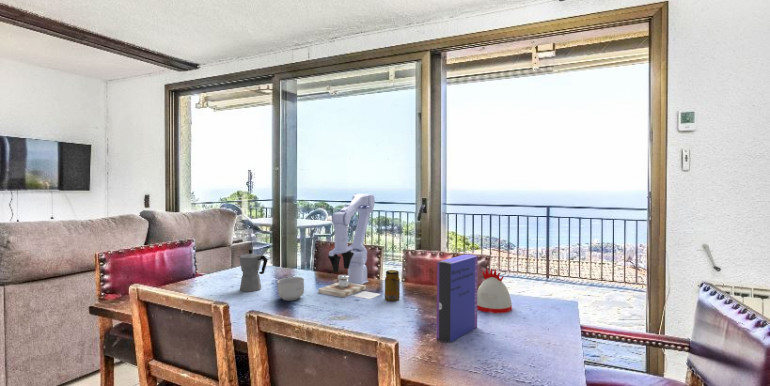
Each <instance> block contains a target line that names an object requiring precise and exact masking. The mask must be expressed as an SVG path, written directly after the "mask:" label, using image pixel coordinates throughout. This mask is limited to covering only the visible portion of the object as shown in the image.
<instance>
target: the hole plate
mask: <svg viewBox="0 0 770 386" xmlns="http://www.w3.org/2000/svg"><path fill="white" fill-rule="evenodd" d="M364 290H367V285H366V284H365V285H364V284H361V285H360V284H354V283H348V288H345V289H341V288H339V281H338V282H335V283H332V284H330V285H329V284H328V285H326V286H324V287H319V288H318V289H317V291H318V293H319V294H324V295H329V296H334V297H335V296H336V297H340V298H346V297H349V296H353V295H356V294H358V293H361V292H364Z"/></svg>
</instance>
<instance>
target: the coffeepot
mask: <svg viewBox="0 0 770 386" xmlns="http://www.w3.org/2000/svg"><path fill="white" fill-rule="evenodd" d="M237 258H239V263H240V269H241V272H242V275H241V281H240V286H239V291H240V292H244V293H251V292H253V293H254V292H258V291H260V290H261V289H262V284H261V279H260V277H261V276H260V275H264V274H265V271H266V268H267V263H268V258H267V257H266V255H261V254H257V253H253V249H248V253H245V254H241V255H240V254H239V255H238V256H237ZM261 261H263V263H262V267H261ZM260 267H261V271H259V270H260Z"/></svg>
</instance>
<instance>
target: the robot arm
mask: <svg viewBox="0 0 770 386" xmlns="http://www.w3.org/2000/svg"><path fill="white" fill-rule="evenodd" d="M375 203H376V201H375V196H374V194H373V193H354V194H353V195H352V198H351V201H350V202H349V203H346V204H345V205H344V206H343V207H342V208H341V209H340V210H339V211H337V212H334V213H333V215H332V218H331V221H332V225H333V226H332V227H333V229H334V248H332V249H331V250H330V251H328V254H327V255H328V256H327V257H328V259H329V261H330V263H331V266H332V271H333V272H336V273H339V268H340V261H341V258H342V261H343V269H347V275H349V279H348V283H354V284H360V285H364V284H365V283H366V284H367V283H368V282H370V281H369V280H368V268H367V265H366V263H367V259H368V250H367V248H366V246H364V241H365V237H366V233H367V229H368V224H369V218H370V214H372V213H373V211H374V207H375ZM355 213H358V214H359V215H358V218H357V219H358V220H357V224H356V228H355V232H354V236H353V239H352V241H353V242H352V243H351V244H350V245H349V243H348V241H349V237H348V236H349V235H348V231H349V230H348V229H349V228H348V225H350V224H351V223H350V222H351V219H352V217H353V216H354V215H355ZM340 255H342V256H340Z"/></svg>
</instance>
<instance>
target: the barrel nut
mask: <svg viewBox="0 0 770 386" xmlns="http://www.w3.org/2000/svg"><path fill="white" fill-rule="evenodd" d="M337 279H338V282H339V288H341V289H345V288H348V279H349V275H348V274H339V275H337Z"/></svg>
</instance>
